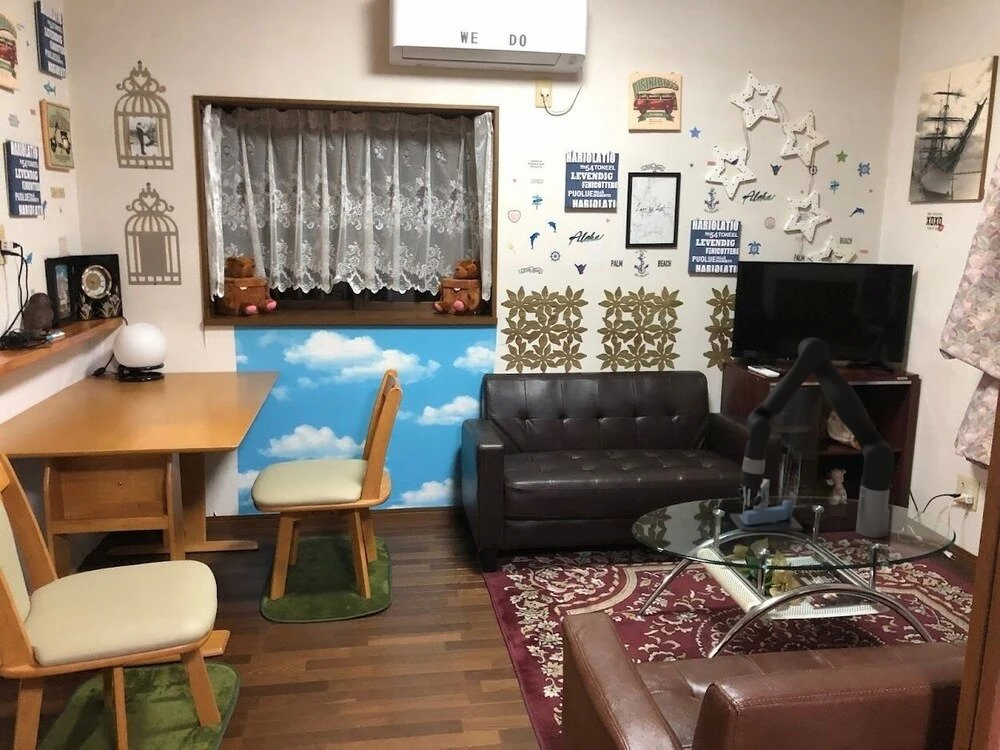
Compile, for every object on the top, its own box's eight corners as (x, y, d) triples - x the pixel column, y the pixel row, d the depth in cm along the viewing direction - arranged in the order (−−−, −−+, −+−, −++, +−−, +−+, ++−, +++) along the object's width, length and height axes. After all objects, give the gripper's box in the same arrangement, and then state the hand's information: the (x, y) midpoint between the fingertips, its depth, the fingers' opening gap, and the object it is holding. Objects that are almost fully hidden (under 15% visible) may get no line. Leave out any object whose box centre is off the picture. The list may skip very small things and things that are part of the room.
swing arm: (787, 514, 291) (788, 499, 290) (793, 518, 288) (795, 502, 287) (741, 521, 285) (742, 505, 284) (747, 525, 282) (748, 509, 281)
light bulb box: (760, 515, 296) (762, 487, 294) (742, 511, 300) (744, 484, 297) (768, 506, 305) (770, 479, 303) (750, 502, 308) (752, 476, 306)
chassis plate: (789, 516, 294) (789, 512, 294) (802, 530, 282) (803, 526, 281) (730, 516, 294) (730, 512, 294) (740, 530, 282) (741, 526, 281)
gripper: (732, 464, 288) (727, 509, 292) (758, 476, 277) (752, 523, 281) (748, 462, 292) (743, 506, 295) (774, 474, 280) (768, 520, 284)
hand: (747, 514), depth 288 cm, fingers closed
